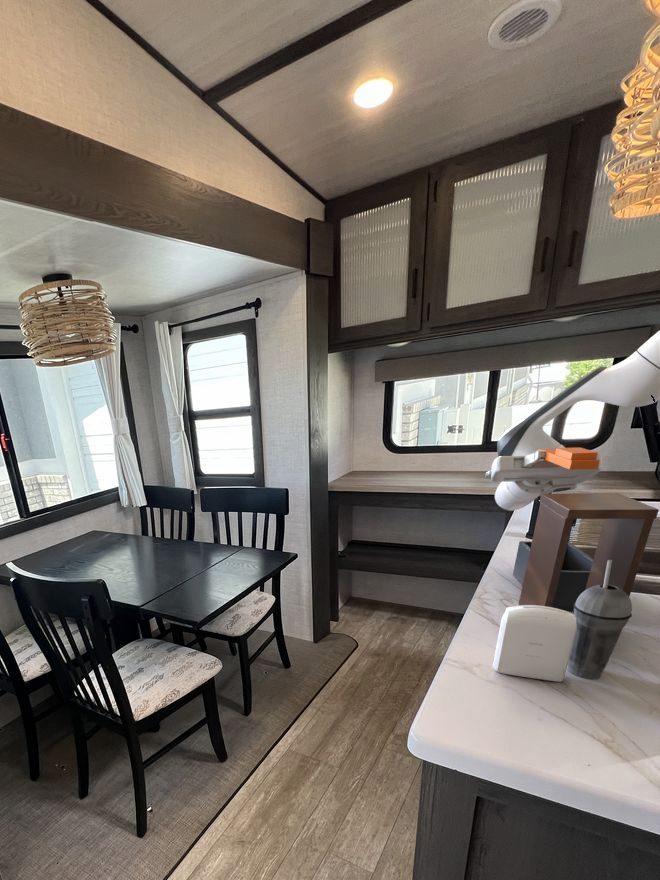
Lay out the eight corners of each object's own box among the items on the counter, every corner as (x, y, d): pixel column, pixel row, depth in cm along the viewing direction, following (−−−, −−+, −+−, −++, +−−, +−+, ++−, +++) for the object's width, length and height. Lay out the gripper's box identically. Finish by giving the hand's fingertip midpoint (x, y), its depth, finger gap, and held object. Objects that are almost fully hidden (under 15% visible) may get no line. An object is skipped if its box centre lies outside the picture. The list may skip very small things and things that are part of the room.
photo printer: (492, 673, 80) (505, 608, 75) (491, 661, 83) (504, 598, 78) (565, 685, 75) (585, 617, 70) (561, 672, 79) (579, 606, 74)
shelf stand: (581, 621, 94) (617, 492, 84) (613, 654, 83) (659, 509, 72) (514, 618, 98) (541, 493, 87) (535, 648, 86) (569, 509, 76)
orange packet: (536, 456, 101) (539, 443, 100) (560, 456, 100) (563, 442, 99) (569, 469, 86) (573, 453, 85) (597, 469, 85) (602, 453, 83)
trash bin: (561, 575, 116) (569, 541, 113) (601, 612, 97) (612, 573, 94) (512, 574, 119) (519, 541, 116) (542, 609, 100) (551, 571, 97)
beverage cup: (623, 680, 76) (662, 563, 68) (584, 686, 75) (619, 569, 67) (583, 657, 82) (614, 549, 74) (546, 663, 81) (574, 555, 74)
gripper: (482, 465, 113) (501, 440, 99) (582, 462, 107) (616, 436, 94) (482, 490, 112) (501, 469, 99) (582, 489, 106) (616, 466, 93)
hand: (558, 453), depth 96 cm, fingers closed on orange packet, 4 cm apart
